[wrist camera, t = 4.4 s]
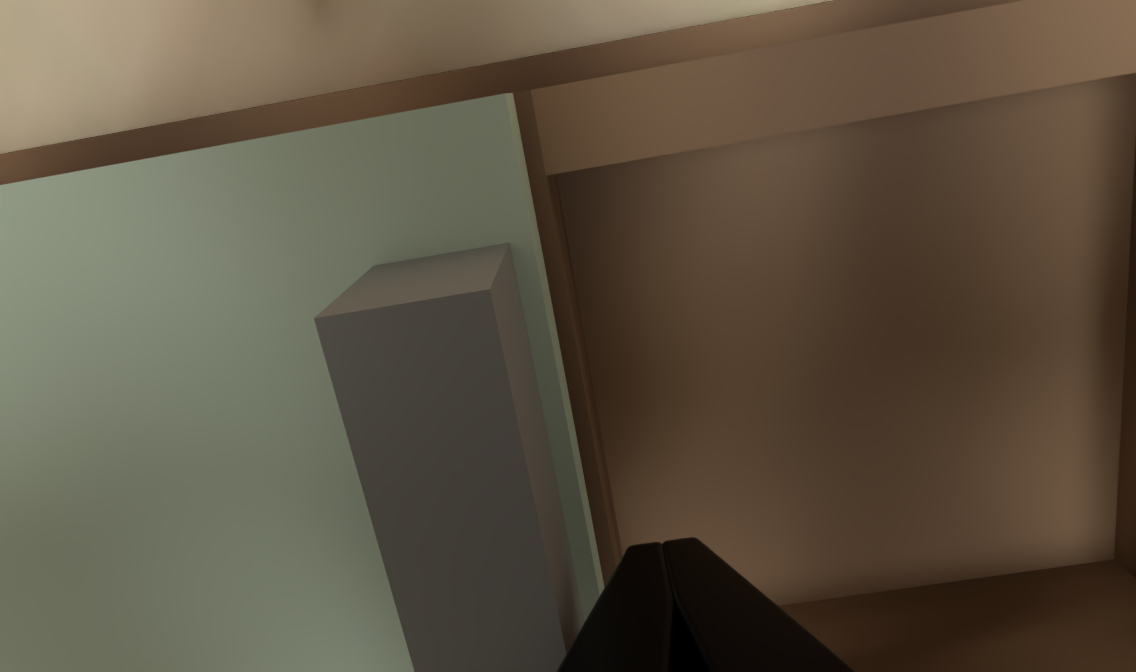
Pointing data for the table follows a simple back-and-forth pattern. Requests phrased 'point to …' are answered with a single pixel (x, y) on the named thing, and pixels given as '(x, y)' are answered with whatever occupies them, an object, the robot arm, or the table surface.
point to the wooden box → (835, 306)
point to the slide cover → (290, 410)
